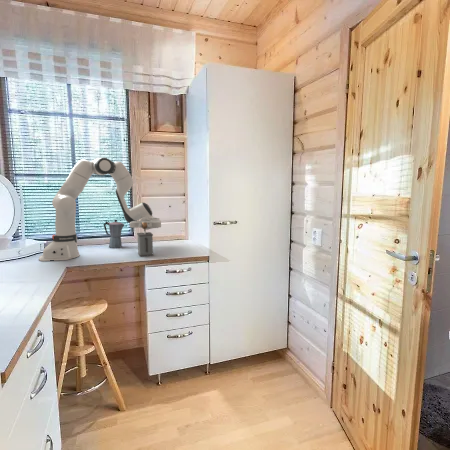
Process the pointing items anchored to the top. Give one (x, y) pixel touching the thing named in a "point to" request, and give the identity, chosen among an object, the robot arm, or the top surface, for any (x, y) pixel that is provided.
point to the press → (145, 244)
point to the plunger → (144, 226)
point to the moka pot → (114, 233)
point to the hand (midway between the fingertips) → (144, 225)
